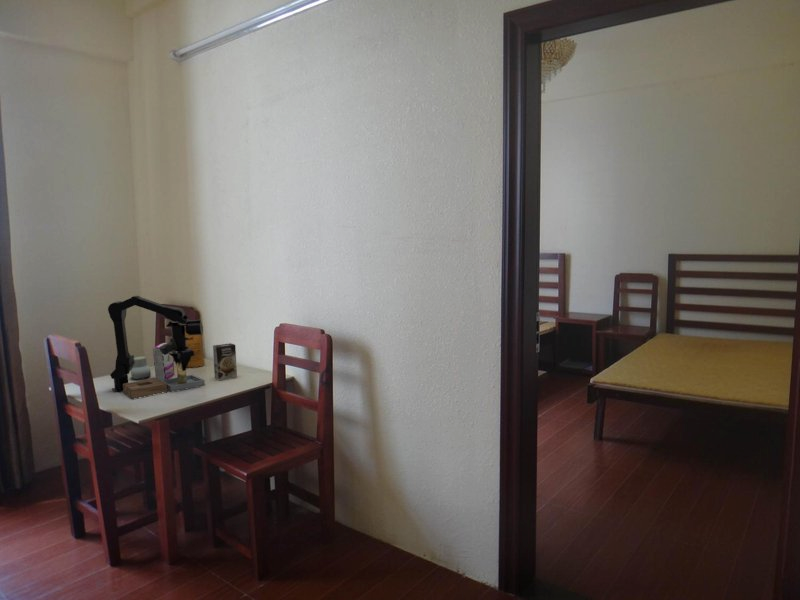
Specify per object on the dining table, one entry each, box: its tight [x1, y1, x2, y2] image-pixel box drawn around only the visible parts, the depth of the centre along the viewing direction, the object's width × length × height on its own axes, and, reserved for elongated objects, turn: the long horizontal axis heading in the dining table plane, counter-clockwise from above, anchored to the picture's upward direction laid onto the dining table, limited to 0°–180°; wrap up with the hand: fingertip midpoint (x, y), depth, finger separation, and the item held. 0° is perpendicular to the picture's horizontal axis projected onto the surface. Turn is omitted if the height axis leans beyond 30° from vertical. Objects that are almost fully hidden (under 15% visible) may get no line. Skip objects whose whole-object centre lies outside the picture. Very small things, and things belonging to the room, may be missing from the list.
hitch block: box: [122, 377, 168, 400], centre depth 242 cm, size 14×14×4 cm
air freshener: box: [130, 356, 152, 380], centre depth 268 cm, size 11×8×10 cm
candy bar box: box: [152, 342, 175, 380], centre depth 265 cm, size 11×5×16 cm, turn 0°
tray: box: [161, 374, 206, 393], centre depth 252 cm, size 14×15×2 cm
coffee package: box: [185, 326, 205, 368], centre depth 289 cm, size 10×12×22 cm
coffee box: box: [212, 342, 238, 382], centre depth 263 cm, size 9×6×16 cm
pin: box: [176, 362, 188, 385], centre depth 251 cm, size 4×4×10 cm
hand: (181, 369), depth 251 cm, fingers open, 6 cm apart
